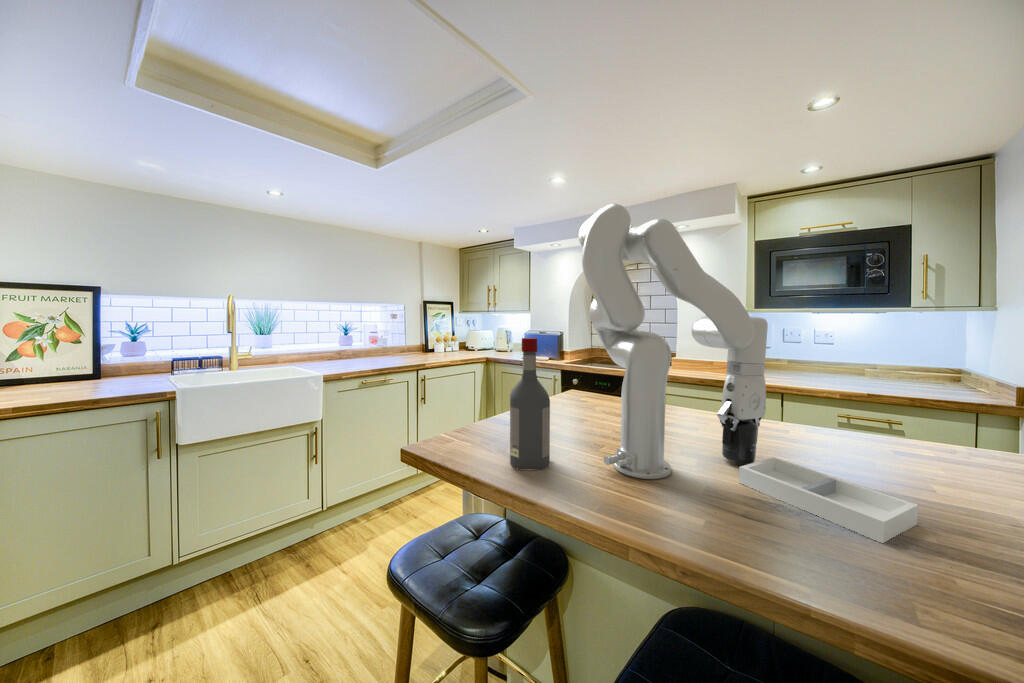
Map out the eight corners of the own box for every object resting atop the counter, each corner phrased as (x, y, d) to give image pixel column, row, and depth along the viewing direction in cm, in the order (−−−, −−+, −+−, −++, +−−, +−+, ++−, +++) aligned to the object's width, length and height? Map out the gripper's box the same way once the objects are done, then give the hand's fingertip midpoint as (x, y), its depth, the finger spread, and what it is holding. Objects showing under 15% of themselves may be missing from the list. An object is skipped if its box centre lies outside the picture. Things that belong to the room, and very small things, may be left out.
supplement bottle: (760, 465, 85) (764, 414, 84) (727, 462, 86) (731, 411, 85) (747, 454, 92) (751, 407, 91) (717, 452, 93) (721, 404, 92)
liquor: (546, 455, 94) (546, 337, 92) (550, 470, 85) (551, 339, 83) (510, 455, 94) (509, 337, 92) (510, 470, 85) (510, 339, 83)
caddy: (882, 543, 58) (884, 522, 58) (738, 482, 79) (739, 466, 78) (916, 524, 63) (918, 504, 63) (773, 472, 84) (773, 457, 84)
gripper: (736, 373, 80) (730, 454, 82) (784, 370, 88) (778, 444, 89) (705, 368, 87) (700, 443, 88) (752, 366, 95) (747, 434, 96)
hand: (739, 443), depth 89 cm, fingers closed on supplement bottle, 6 cm apart
